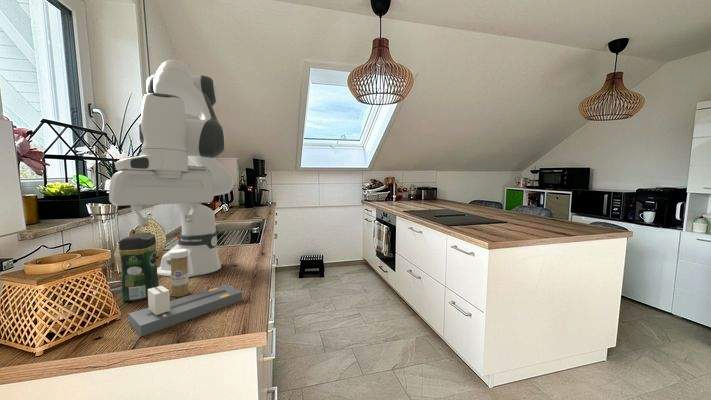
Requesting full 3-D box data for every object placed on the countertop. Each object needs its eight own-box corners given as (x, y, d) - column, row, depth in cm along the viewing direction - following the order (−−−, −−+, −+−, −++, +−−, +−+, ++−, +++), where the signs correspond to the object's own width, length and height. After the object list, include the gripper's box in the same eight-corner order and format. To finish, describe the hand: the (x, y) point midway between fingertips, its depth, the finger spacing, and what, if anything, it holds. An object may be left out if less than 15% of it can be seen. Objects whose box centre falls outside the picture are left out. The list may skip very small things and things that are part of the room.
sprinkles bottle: (172, 298, 82) (170, 253, 81) (171, 293, 86) (169, 249, 85) (190, 294, 85) (188, 250, 84) (188, 289, 89) (187, 247, 88)
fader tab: (155, 315, 66) (154, 294, 66) (148, 309, 69) (147, 288, 69) (170, 310, 69) (169, 290, 68) (162, 304, 72) (161, 285, 71)
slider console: (140, 336, 63) (140, 325, 62) (129, 323, 68) (128, 313, 68) (242, 300, 81) (242, 291, 81) (226, 292, 87) (226, 284, 87)
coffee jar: (132, 290, 88) (129, 231, 86) (162, 288, 90) (159, 230, 89) (116, 304, 78) (112, 238, 77) (149, 300, 81) (146, 236, 79)
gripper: (205, 167, 76) (207, 219, 76) (105, 161, 59) (107, 227, 60) (217, 166, 72) (219, 220, 72) (113, 159, 56) (116, 229, 56)
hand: (167, 223), depth 66 cm, fingers open, 8 cm apart
